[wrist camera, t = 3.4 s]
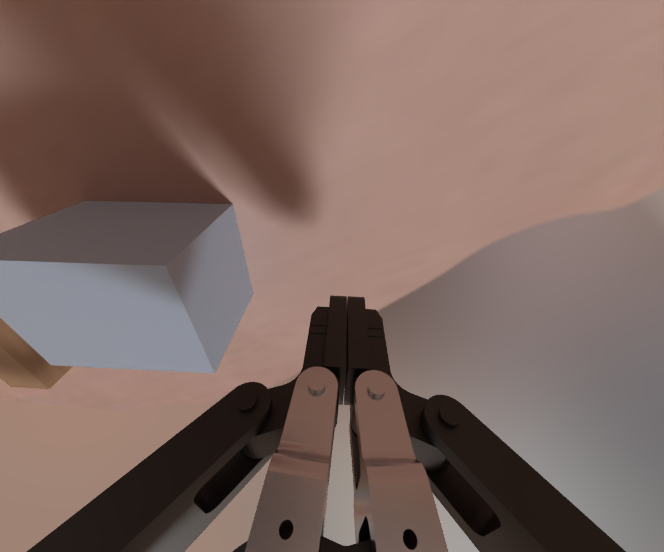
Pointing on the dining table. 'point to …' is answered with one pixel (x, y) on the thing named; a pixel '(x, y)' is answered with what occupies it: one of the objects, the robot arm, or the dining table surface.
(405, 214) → the dining table surface
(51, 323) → the block
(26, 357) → the board
